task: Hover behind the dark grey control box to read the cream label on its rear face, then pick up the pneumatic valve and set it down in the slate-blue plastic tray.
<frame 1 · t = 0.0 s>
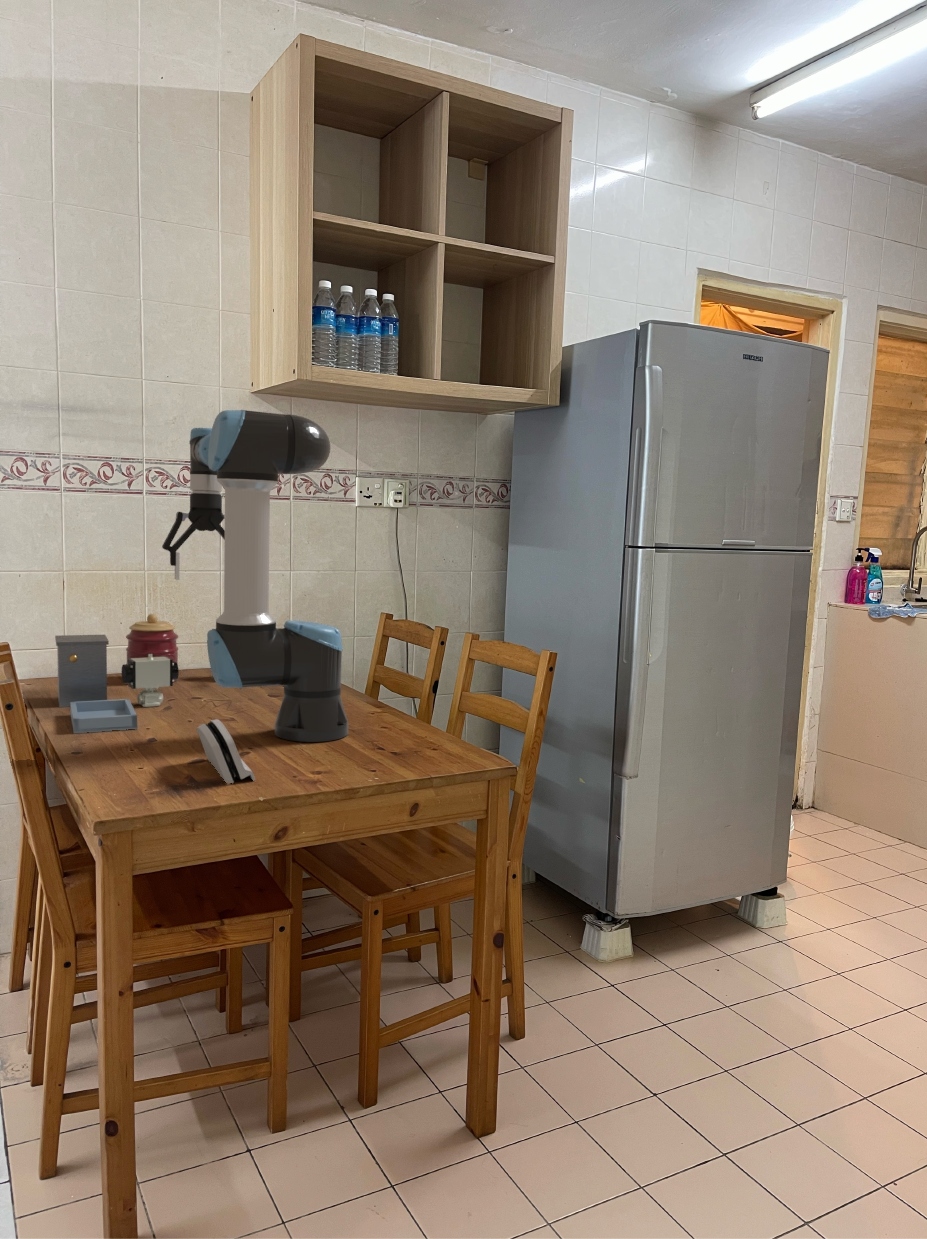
hand: (205, 579, 222), 28 cm above the table, tool pointing down, fingers open, 13 cm apart
pneumatic valve: (149, 706, 208), on the table
tray: (102, 722, 190), on the table
control box: (82, 701, 209), on the table
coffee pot: (243, 683, 239), on the table
grey curved fin: (223, 772, 159), on the table
canister: (152, 681, 236), on the table
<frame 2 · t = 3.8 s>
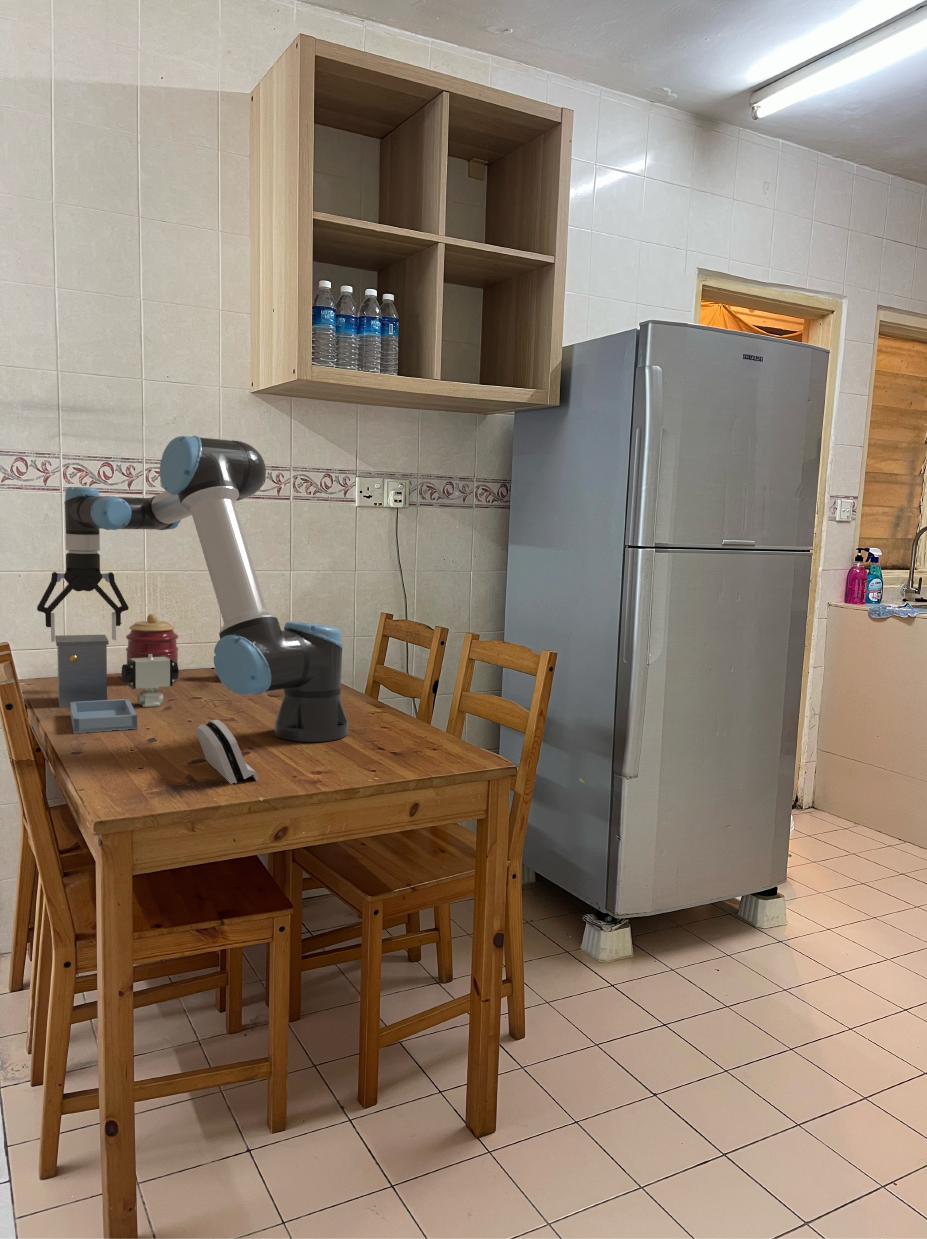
hand: (83, 640, 218), 13 cm above the table, tool pointing down, fingers open, 13 cm apart
nothing on the table moved.
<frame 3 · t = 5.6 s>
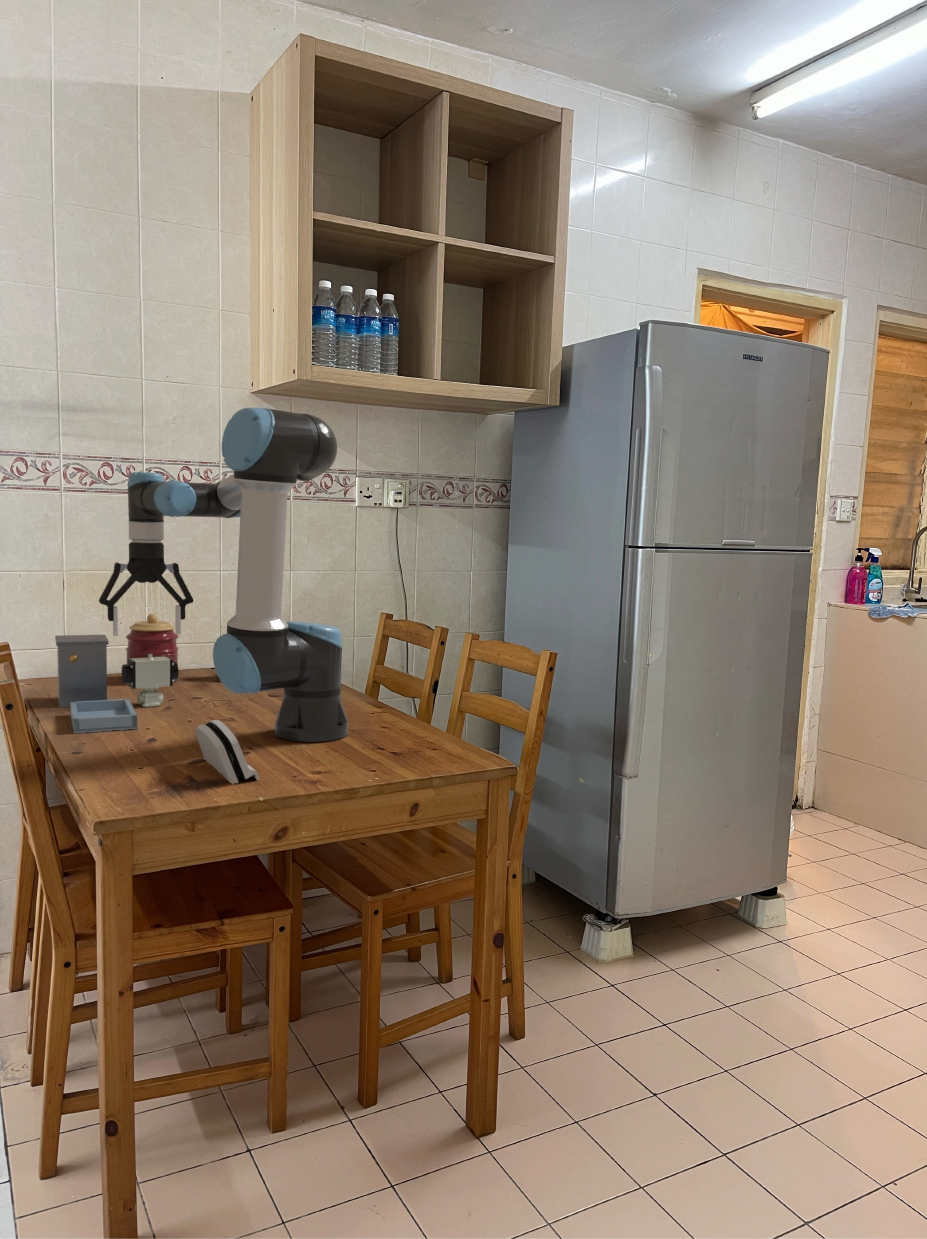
hand: (147, 634, 206), 16 cm above the table, tool pointing down, fingers open, 13 cm apart
nothing on the table moved.
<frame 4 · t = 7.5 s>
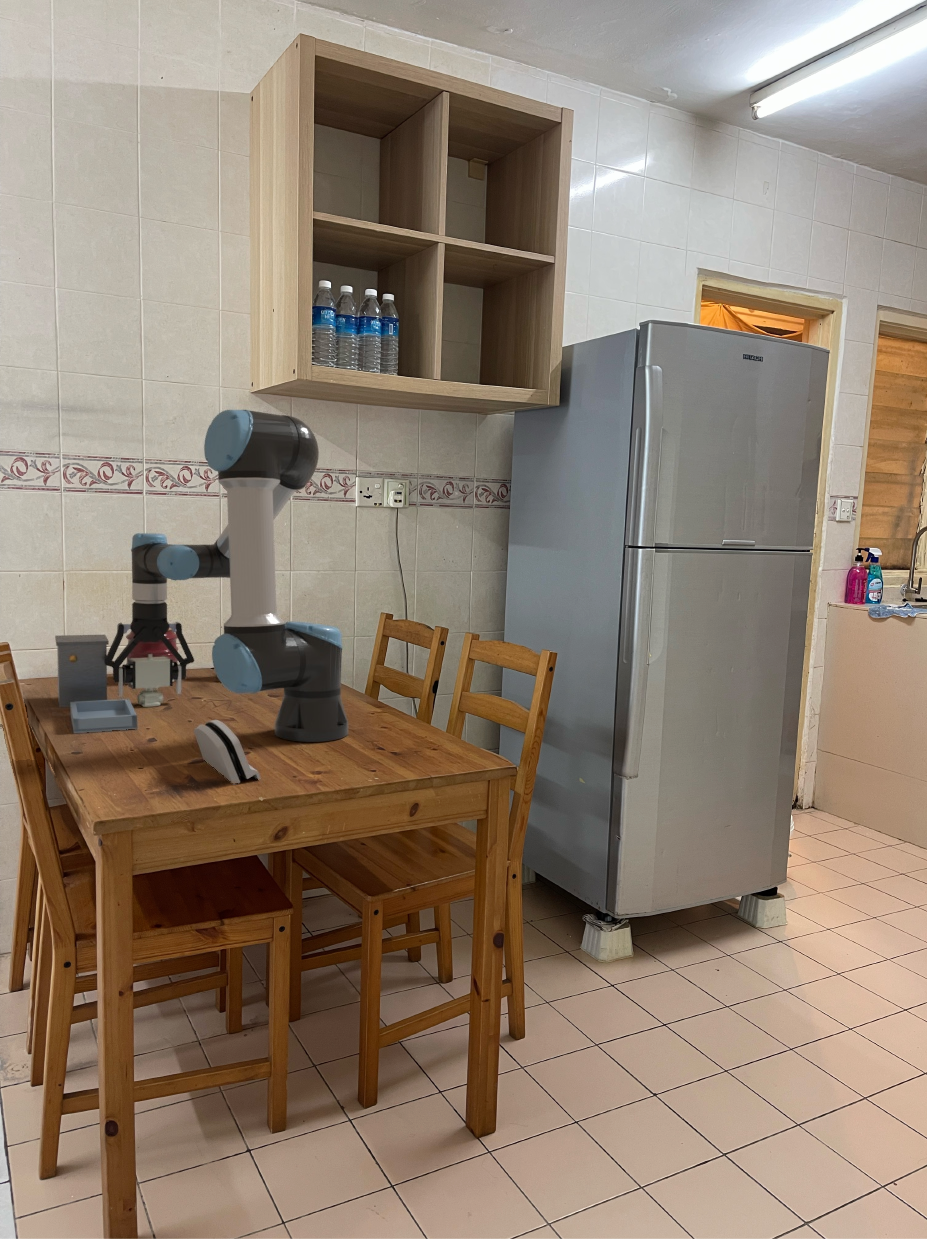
hand: (150, 694, 208), 2 cm above the table, tool pointing down, fingers closed on pneumatic valve, 12 cm apart
pneumatic valve: (149, 706, 208), on the table, touching gripper
everything else where it was.
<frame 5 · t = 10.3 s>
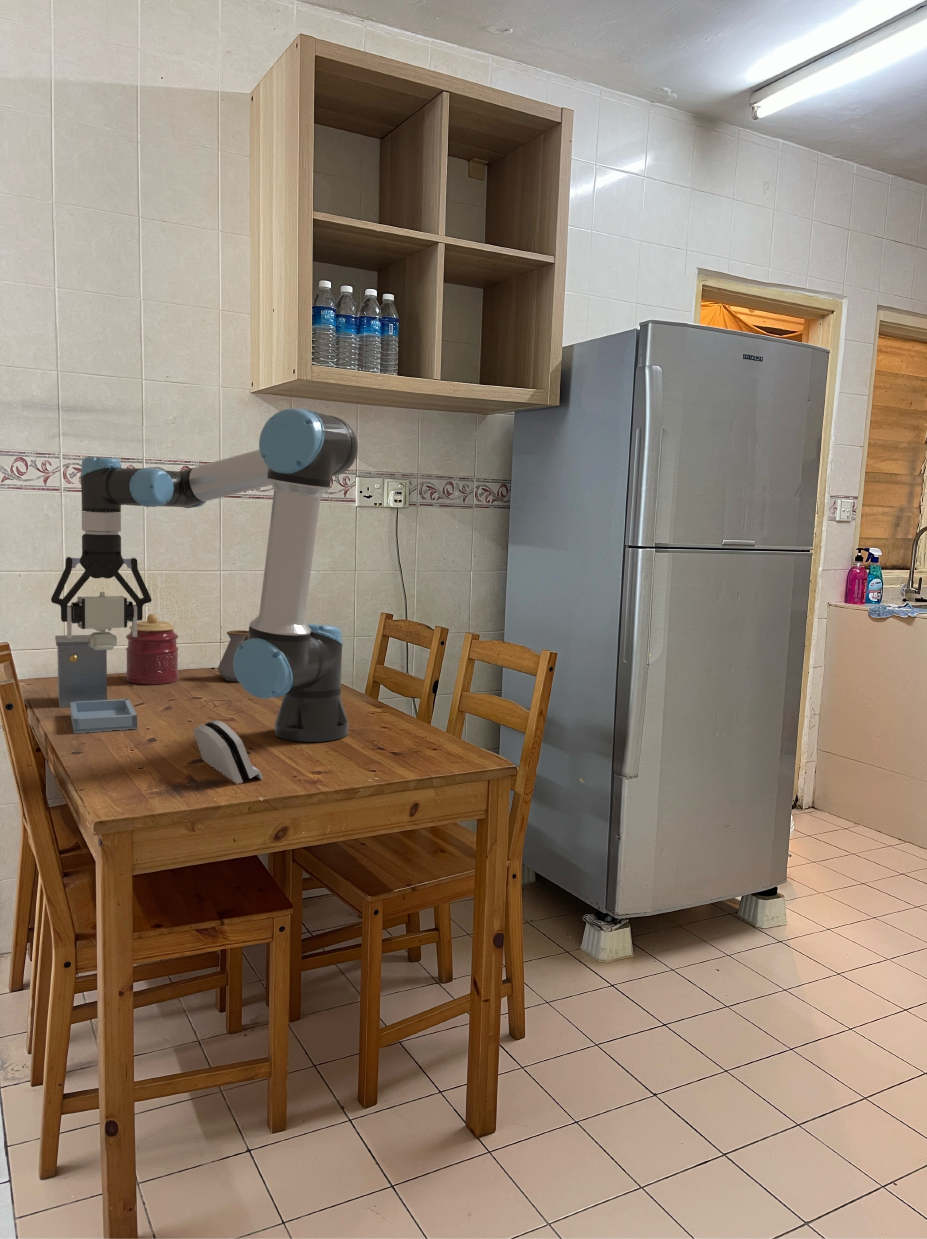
hand: (102, 636, 188), 18 cm above the table, tool pointing down, fingers closed on pneumatic valve, 12 cm apart
pneumatic valve: (102, 649, 189), point 15 cm above the table, touching gripper
everything else where it was.
when the fingers open (5 cm above the table, at t = 13.3 s): pneumatic valve drops 2 cm, resting on tray.
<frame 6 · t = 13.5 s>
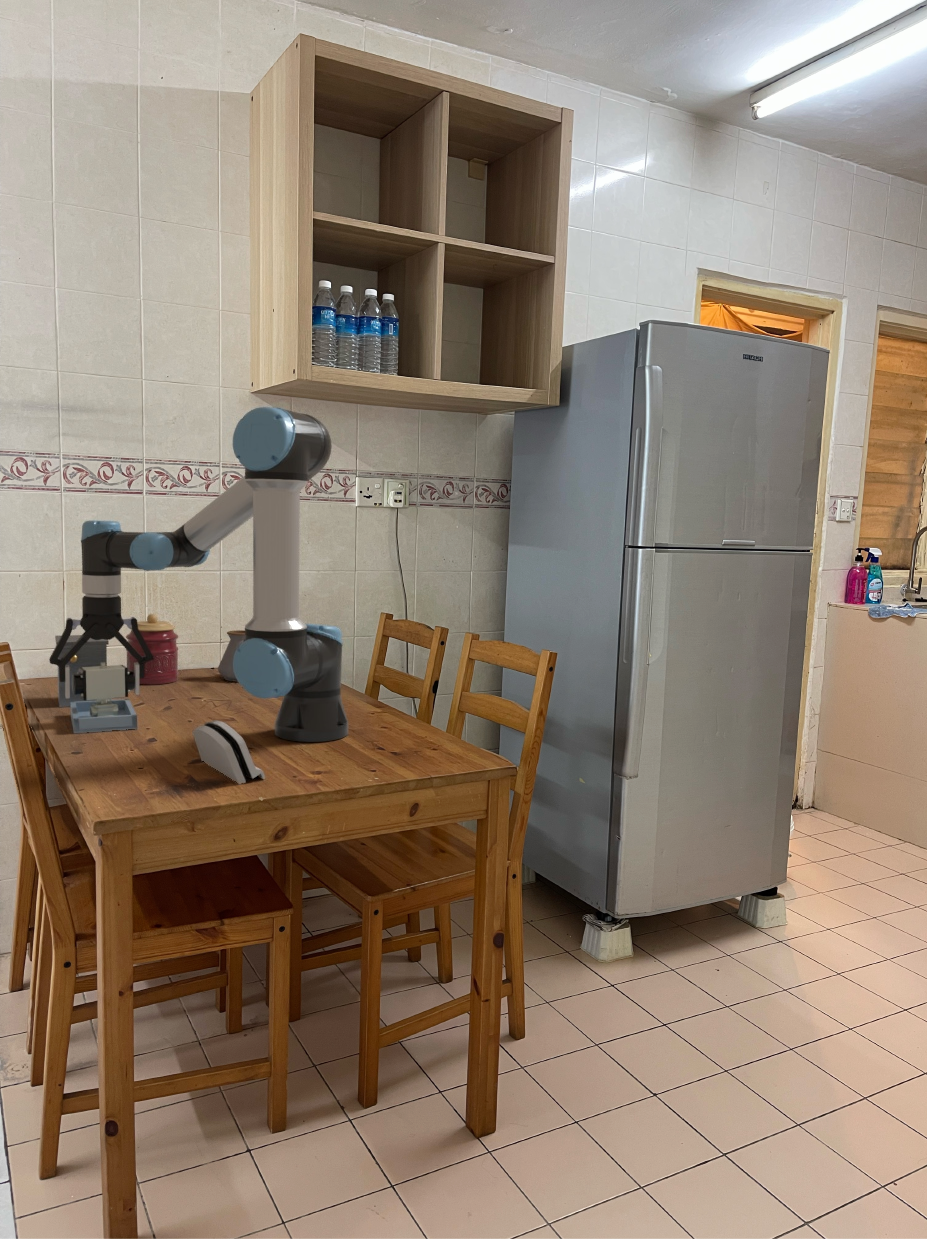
hand: (102, 695, 190), 6 cm above the table, tool pointing down, fingers open, 13 cm apart
pneumatic valve: (103, 719, 190), point 1 cm above the table, touching tray
everything else where it was.
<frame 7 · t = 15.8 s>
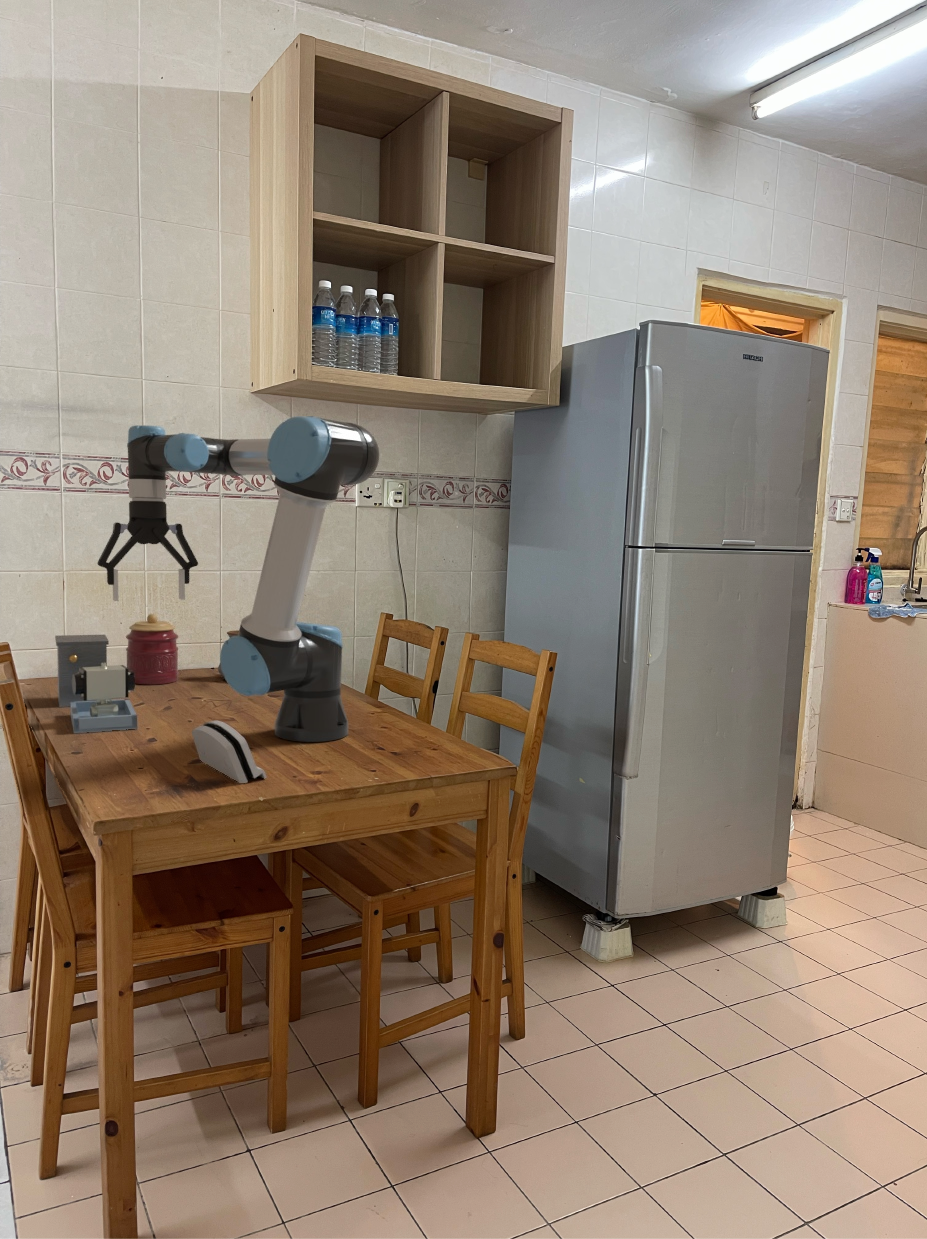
hand: (149, 600, 194), 26 cm above the table, tool pointing down, fingers open, 13 cm apart
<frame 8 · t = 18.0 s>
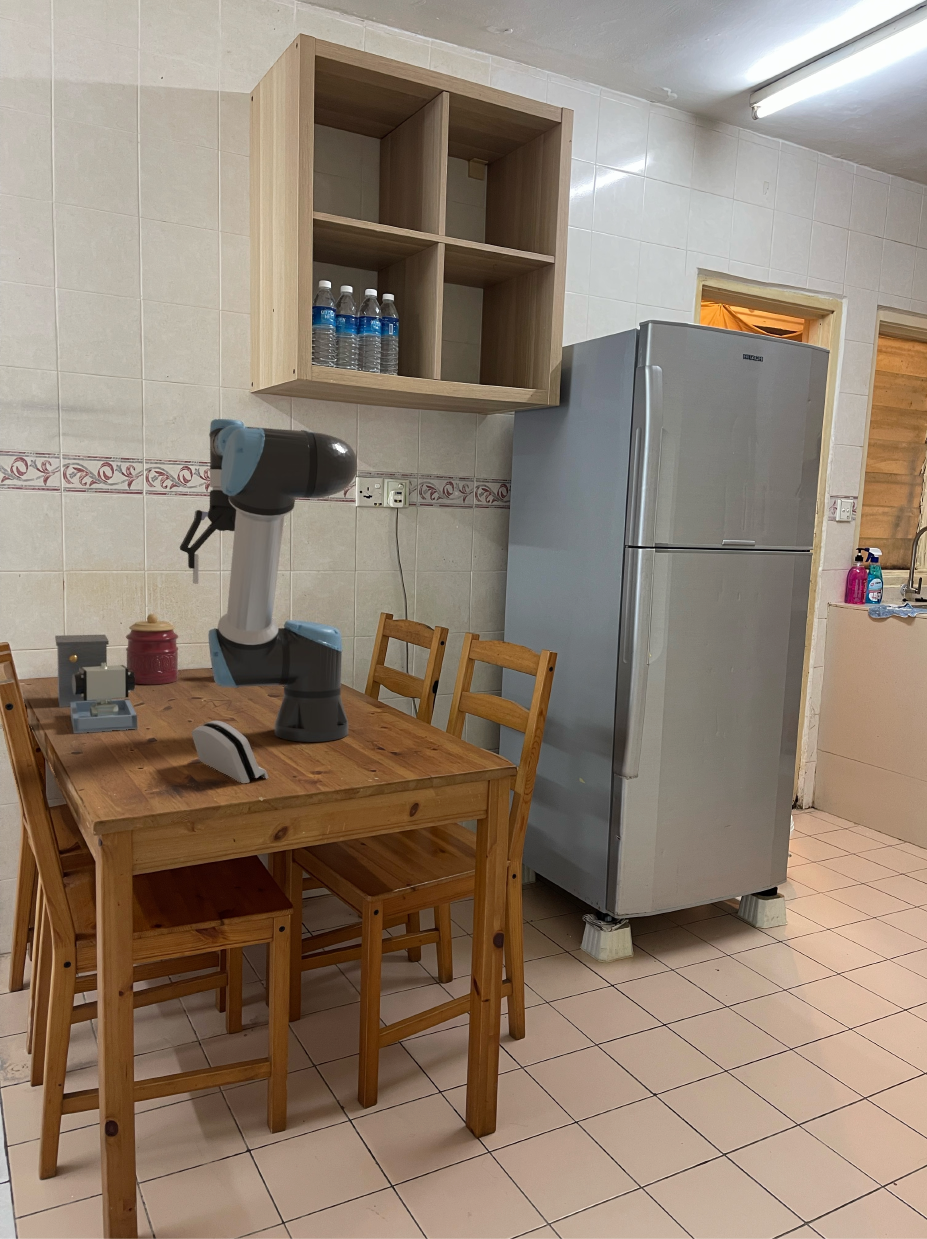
hand: (226, 583, 206), 29 cm above the table, tool pointing down, fingers open, 13 cm apart
at the end: pneumatic valve inside the target area on the tray (0.3 cm from its centre), point 0.6 cm above the tray's base; the gripper is holding nothing; pneumatic valve moved 17.9 cm from its start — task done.
